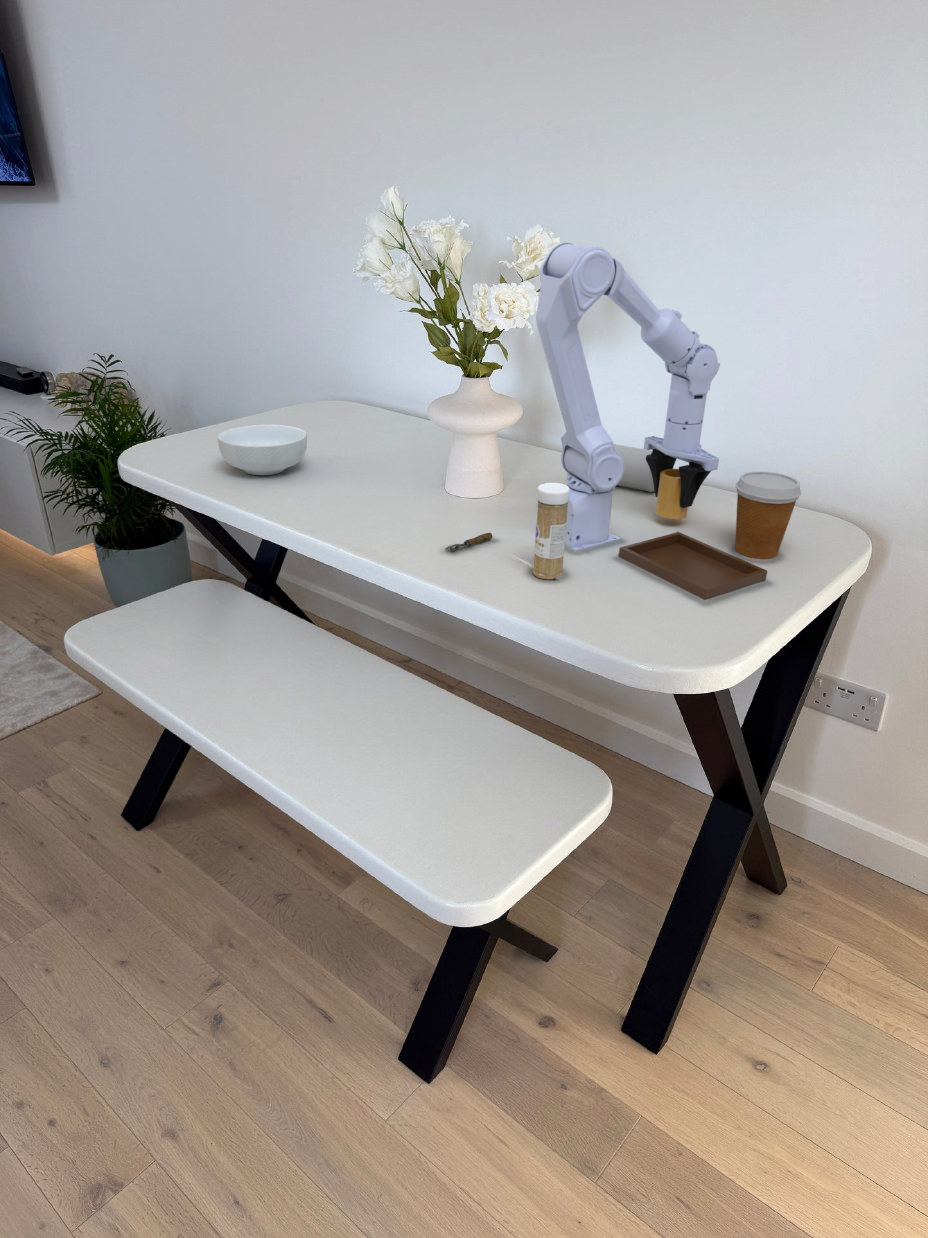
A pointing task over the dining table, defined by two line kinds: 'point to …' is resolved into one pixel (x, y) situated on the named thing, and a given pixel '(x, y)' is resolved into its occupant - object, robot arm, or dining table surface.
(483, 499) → the dining table surface
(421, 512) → the dining table surface
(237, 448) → the cereal bowl
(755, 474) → the disposable coffee cup
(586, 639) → the dining table surface
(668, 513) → the cup
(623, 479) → the can
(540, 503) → the sprinkles bottle
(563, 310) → the robot arm
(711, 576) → the tray
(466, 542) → the can opener
